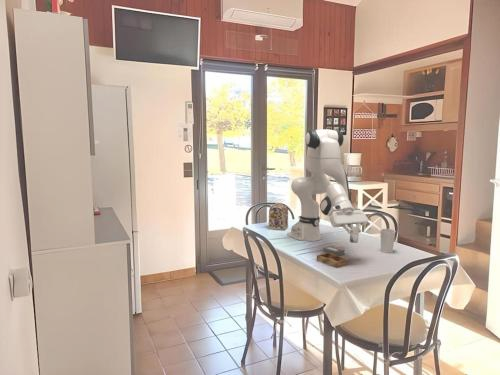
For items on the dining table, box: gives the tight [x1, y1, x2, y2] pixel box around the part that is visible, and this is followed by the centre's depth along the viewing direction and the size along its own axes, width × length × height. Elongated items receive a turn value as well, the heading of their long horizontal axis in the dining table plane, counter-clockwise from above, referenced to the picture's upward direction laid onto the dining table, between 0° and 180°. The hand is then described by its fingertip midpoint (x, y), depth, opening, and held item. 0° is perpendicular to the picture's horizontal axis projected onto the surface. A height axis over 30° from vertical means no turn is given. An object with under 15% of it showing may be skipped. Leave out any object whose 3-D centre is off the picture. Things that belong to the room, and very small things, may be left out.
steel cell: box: [349, 223, 360, 244], centre depth 185 cm, size 4×4×10 cm
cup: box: [379, 228, 397, 254], centre depth 208 cm, size 8×8×12 cm
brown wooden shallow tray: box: [316, 252, 350, 269], centre depth 188 cm, size 14×9×3 cm, turn 37°
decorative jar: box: [268, 202, 289, 231], centre depth 260 cm, size 12×12×18 cm
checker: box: [322, 245, 346, 256], centre depth 204 cm, size 9×7×3 cm
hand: (355, 232), depth 184 cm, fingers closed on steel cell, 4 cm apart
